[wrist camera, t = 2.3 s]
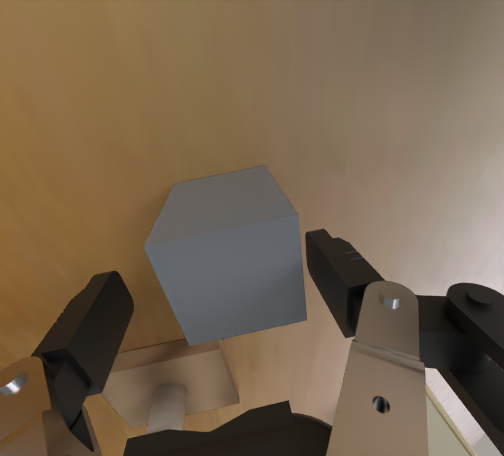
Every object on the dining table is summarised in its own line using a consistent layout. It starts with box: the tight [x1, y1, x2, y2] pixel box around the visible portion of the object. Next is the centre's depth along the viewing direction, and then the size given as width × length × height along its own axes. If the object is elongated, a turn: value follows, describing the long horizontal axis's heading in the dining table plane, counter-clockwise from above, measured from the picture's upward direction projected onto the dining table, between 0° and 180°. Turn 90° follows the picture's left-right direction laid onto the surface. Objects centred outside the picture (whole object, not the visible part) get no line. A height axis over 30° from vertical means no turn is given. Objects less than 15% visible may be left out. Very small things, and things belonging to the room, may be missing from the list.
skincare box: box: [426, 384, 477, 456], centre depth 22 cm, size 6×4×12 cm
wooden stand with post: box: [101, 339, 240, 434], centre depth 18 cm, size 10×8×9 cm
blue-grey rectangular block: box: [143, 166, 307, 346], centre depth 12 cm, size 5×5×7 cm
